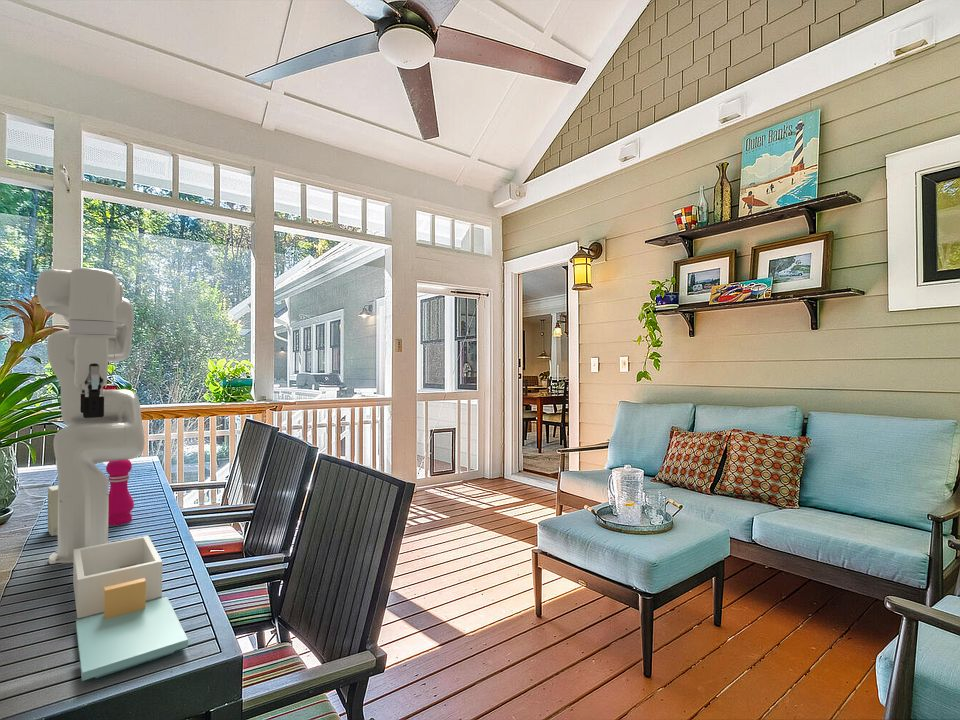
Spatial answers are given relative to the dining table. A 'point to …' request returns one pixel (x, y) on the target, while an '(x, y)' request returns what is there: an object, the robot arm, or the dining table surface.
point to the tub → (114, 571)
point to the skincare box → (53, 510)
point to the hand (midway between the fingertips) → (91, 414)
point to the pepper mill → (119, 493)
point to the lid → (127, 631)
